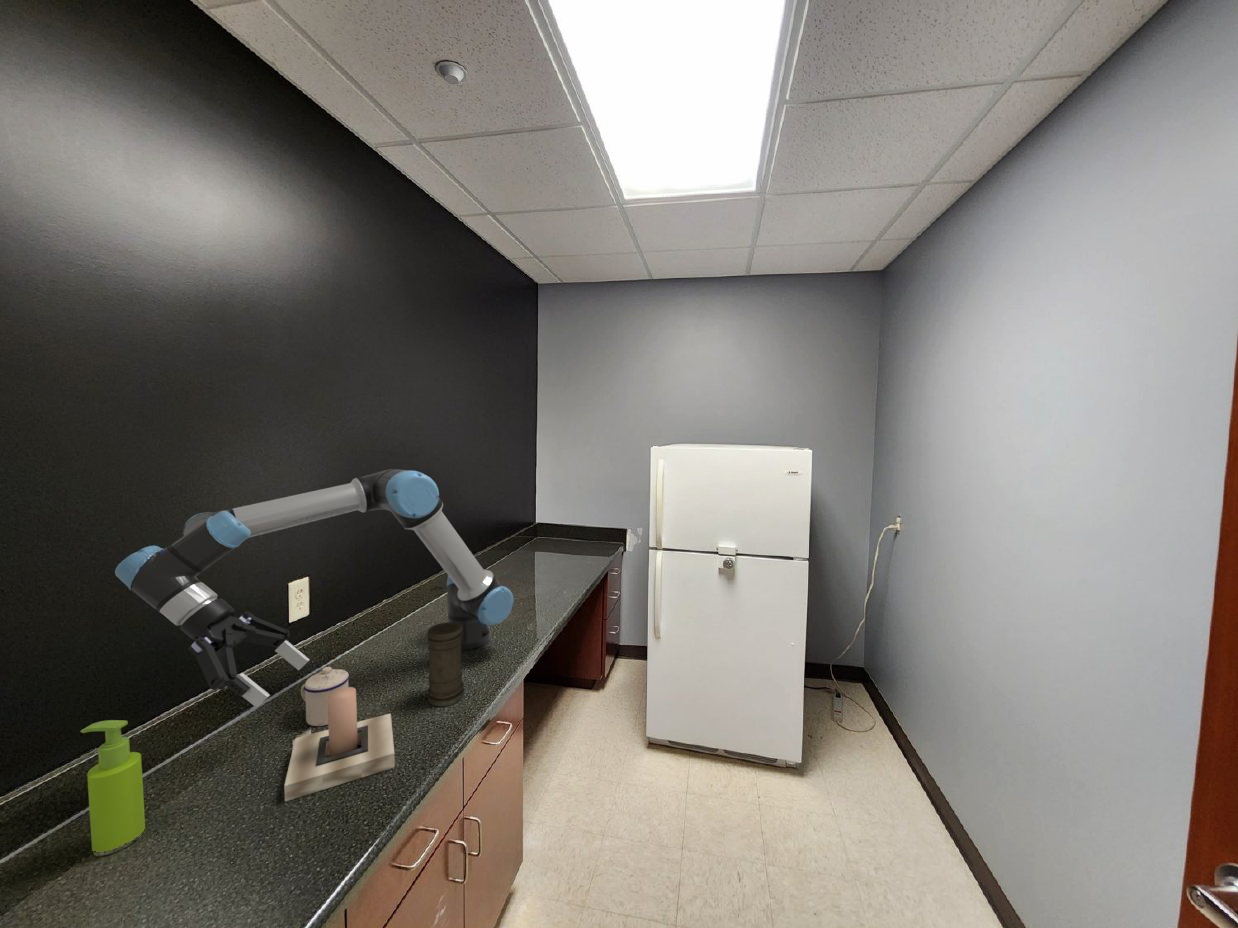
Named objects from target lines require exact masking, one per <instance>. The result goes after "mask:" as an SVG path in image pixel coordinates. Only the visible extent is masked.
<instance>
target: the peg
mask: <svg viewBox="0 0 1238 928" xmlns="http://www.w3.org/2000/svg"><path fill="white" fill-rule="evenodd" d="M327 700H328V725H327V726H328V727H327V728H328V730H329V755H328V756H329V757H331V756H334V755H338V754H342V753H345V752H349V751H352V750H356V749H359V746H358V738H357V722H358V716H357V715H358V712H357V711H358V708H357V689H356V688H355V687H351V686H348V687H345V688H340V689H337V690H335V691H333V692H331V693H330V694H329V695H328V697H327Z"/></svg>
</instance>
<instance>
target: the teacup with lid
mask: <svg viewBox="0 0 1238 928" xmlns="http://www.w3.org/2000/svg"><path fill="white" fill-rule="evenodd" d="M349 679H350V674H349V672H348V671H346V670H345V669H340V668H336V669H335V668H334V669H333V668H332V666H326V667H323V668H322V669H321V671H320V672H318V673H316V674H313V675H312V676H310V677H309V678H308V679H306V681H305V683H303V685H302V686H301V688H300V695H301V698H302V699H303V701H304V702H305V720H306V723H307V724H308V725H310V726H312V727H313V726H314V727H323V726H326V725H327V726H328V700H327V697H328V695H329V694H330V693H331V692H333V691H335V690H337V689H340V688H345V687H349Z"/></svg>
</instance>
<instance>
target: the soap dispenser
mask: <svg viewBox="0 0 1238 928" xmlns="http://www.w3.org/2000/svg"><path fill="white" fill-rule="evenodd" d="M128 722H129V721H128V720H121V719H120V720H117V719H116V720H115V719H110V720H108V719H107V720H103V721H102V720H101V721H96V722H94V723H91V724H90V725H88V726H86V727H85V728H83V729H81V730H80V733H82V734H85V733H89V732H91V733H92V732H104V735H105V737H104V738H105V742H104V743H101V745H100V746H99V747H98V748H97V754H98V763H97V764H95V765H94V766H93V767H91V768H90V769H89V770H88V772H87V774H86V775H87V789H88V790H87V793H88V807H89V808H88V809H89V822H90V838H91V852H92V851H96V852H104V851H109V850H112V849H115V848H118V847H119V846H123V845H124V844H125V843H128V842H130V841H132V840H134V838H136V837H138V836H139V835H140V834H141V833H142V832H143V831H144V829H145V830H146V819H145V815H146V814H145V800H144V798H145V797H144V782H143V779H144V778H143V765H142V754H141V753H140V752H136V751H131V748H130V739H129V737H126V736H122V728H124V727H125V726H127V725H128Z"/></svg>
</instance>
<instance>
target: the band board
mask: <svg viewBox="0 0 1238 928" xmlns="http://www.w3.org/2000/svg"><path fill="white" fill-rule="evenodd" d="M393 734H394V733H393V722H392V714H391V713H386V714H383V715H379V716H375V717H371V718H367V719H364V720H360V721H357V738H358V749H356V750H352V751H349V752H345V753H342V754H338V755H334V756H331V757H330V755H329V729H326V730H321V731H318V732H313V733H309V734H307V735H303V736H298V737H294V739H295V740H294V743H293V747H292V752H291V755H290V756H291V757H290V761H289V765H288V770H287V772H286V777H285V781H284V802H285V803H286V802H288V801H291V800H295V799H298V798H301V797H306V796H307V795H311V794H315V793H317V792H320V791H323V790H326V789H331V788H333V787H334V788H335V787H337V786H339V785H343V784H346V783H349V782H352V781H355V780H359V779H362V778H365V777H368V776H372V775H375V774H379V773H381V772H385V771H388V770H392V769H394V768H395V767H396V765H395V763H396V761H395V746H394V735H393ZM360 746H361V747H360Z"/></svg>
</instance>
